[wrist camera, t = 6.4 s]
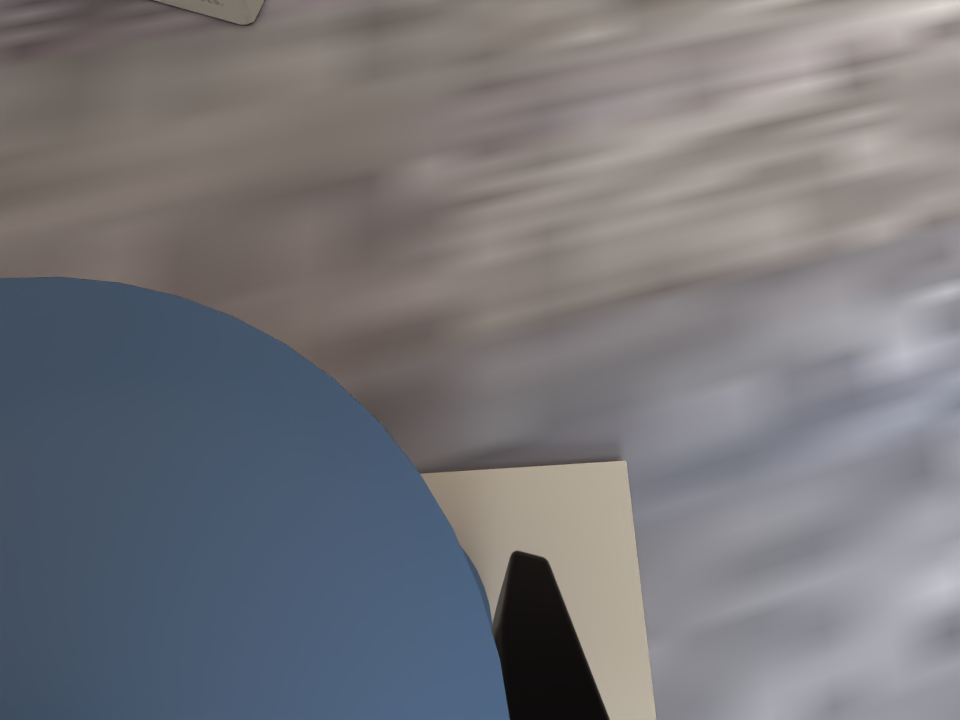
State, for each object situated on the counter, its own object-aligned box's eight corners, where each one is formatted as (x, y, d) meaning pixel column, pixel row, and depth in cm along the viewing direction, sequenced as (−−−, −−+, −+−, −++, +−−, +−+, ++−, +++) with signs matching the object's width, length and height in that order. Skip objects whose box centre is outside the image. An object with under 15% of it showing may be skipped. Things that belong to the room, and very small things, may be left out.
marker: (521, 696, 15) (787, 1244, 2) (306, 784, 14) (-755, 2033, 2) (444, 486, 16) (354, 106, 3) (243, 561, 15) (-701, 436, 3)
